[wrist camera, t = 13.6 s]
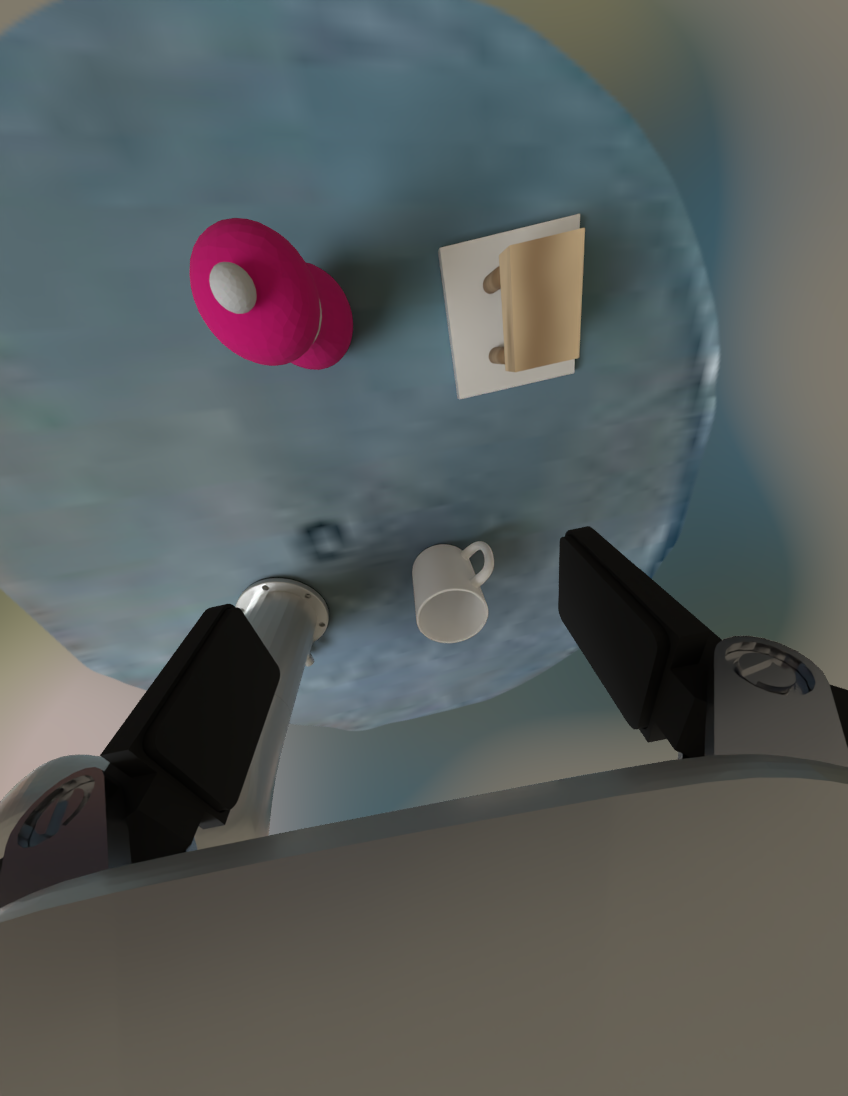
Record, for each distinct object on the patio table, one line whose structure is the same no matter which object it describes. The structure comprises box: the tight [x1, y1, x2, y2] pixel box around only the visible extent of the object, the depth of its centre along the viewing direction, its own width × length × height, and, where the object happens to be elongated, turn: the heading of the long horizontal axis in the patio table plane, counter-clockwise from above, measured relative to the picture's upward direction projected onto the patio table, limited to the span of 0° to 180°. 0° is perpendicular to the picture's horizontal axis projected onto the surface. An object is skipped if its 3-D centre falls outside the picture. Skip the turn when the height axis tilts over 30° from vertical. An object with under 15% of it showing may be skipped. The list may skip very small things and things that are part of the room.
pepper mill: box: [190, 218, 353, 370], centre depth 22 cm, size 7×7×20 cm
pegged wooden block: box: [483, 228, 585, 372], centre depth 27 cm, size 5×8×8 cm, turn 11°
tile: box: [438, 214, 580, 399], centre depth 31 cm, size 12×12×1 cm
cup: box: [412, 541, 494, 643], centre depth 41 cm, size 8×12×10 cm
